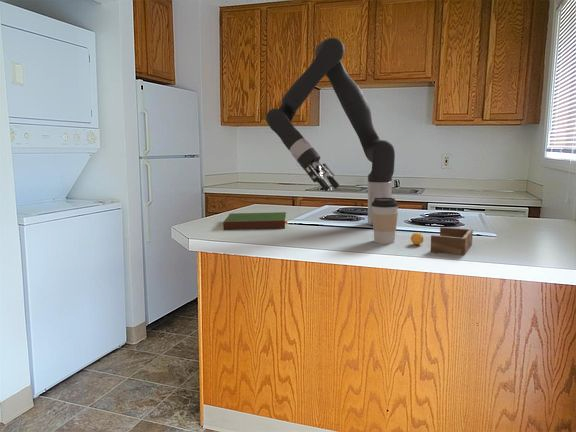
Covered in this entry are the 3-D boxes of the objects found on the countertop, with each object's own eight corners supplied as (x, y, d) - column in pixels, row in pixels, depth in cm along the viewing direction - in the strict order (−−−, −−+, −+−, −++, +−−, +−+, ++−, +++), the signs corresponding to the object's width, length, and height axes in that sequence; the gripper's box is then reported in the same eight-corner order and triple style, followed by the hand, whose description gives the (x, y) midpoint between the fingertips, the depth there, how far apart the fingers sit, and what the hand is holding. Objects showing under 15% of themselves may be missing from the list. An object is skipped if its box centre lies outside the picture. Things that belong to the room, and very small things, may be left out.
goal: (440, 241, 157) (440, 227, 156) (472, 244, 152) (472, 229, 151) (430, 251, 145) (431, 235, 144) (464, 255, 140) (465, 238, 139)
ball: (412, 242, 157) (412, 231, 156) (424, 243, 155) (424, 232, 154) (409, 245, 153) (409, 233, 153) (421, 246, 151) (421, 234, 151)
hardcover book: (223, 231, 185) (223, 222, 185) (230, 221, 204) (230, 213, 203) (286, 230, 185) (286, 220, 184) (288, 220, 203) (287, 212, 202)
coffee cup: (399, 239, 162) (400, 196, 159) (396, 245, 154) (397, 200, 151) (373, 237, 165) (373, 195, 162) (369, 243, 157) (369, 199, 154)
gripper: (302, 147, 160) (332, 183, 157) (319, 146, 173) (347, 179, 170) (288, 162, 164) (317, 197, 161) (306, 160, 176) (333, 193, 173)
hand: (332, 188), depth 165 cm, fingers open, 8 cm apart
